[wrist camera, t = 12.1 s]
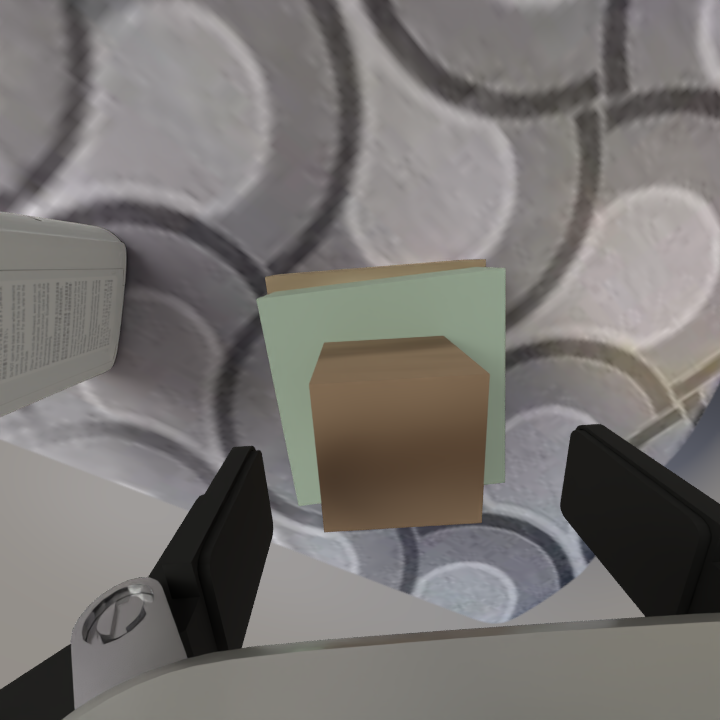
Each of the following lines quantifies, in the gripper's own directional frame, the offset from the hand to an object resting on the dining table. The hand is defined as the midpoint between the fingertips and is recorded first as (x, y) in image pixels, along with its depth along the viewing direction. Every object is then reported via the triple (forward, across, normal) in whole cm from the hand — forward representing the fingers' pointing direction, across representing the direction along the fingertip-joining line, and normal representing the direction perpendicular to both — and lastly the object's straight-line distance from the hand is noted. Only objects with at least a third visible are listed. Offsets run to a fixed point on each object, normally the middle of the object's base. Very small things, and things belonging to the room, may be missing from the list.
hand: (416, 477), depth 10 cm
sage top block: (+12, 0, +1) cm, 12 cm away
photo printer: (+16, +20, -4) cm, 26 cm away
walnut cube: (+8, 0, +1) cm, 8 cm away
